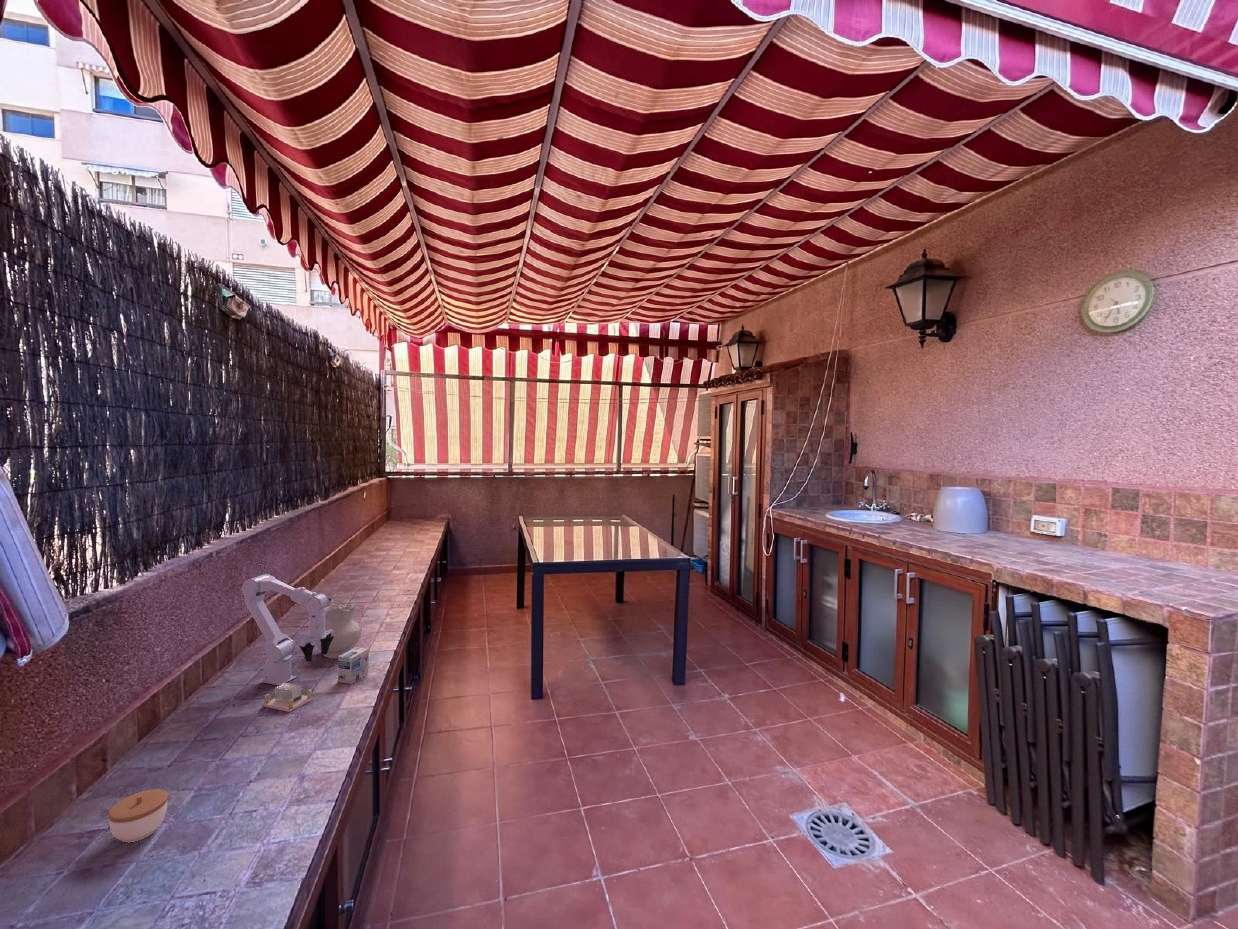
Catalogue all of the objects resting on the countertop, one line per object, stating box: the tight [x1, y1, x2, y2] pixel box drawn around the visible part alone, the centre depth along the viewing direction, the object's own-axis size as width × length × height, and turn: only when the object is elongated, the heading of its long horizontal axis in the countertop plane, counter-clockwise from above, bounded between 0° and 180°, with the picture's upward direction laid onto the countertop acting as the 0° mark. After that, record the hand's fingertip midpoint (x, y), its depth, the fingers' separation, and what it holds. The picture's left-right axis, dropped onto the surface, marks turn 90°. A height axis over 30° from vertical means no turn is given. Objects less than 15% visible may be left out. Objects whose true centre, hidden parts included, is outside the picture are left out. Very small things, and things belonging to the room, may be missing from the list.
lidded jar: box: [108, 788, 169, 844], centre depth 126 cm, size 11×11×9 cm
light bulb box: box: [337, 646, 370, 685], centre depth 214 cm, size 11×7×11 cm, turn 168°
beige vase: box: [314, 596, 363, 660], centre depth 238 cm, size 22×20×25 cm
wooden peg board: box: [263, 689, 313, 713], centre depth 191 cm, size 13×10×4 cm
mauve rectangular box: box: [274, 682, 303, 704], centre depth 191 cm, size 8×4×5 cm, turn 74°
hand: (316, 657), depth 209 cm, fingers open, 7 cm apart
